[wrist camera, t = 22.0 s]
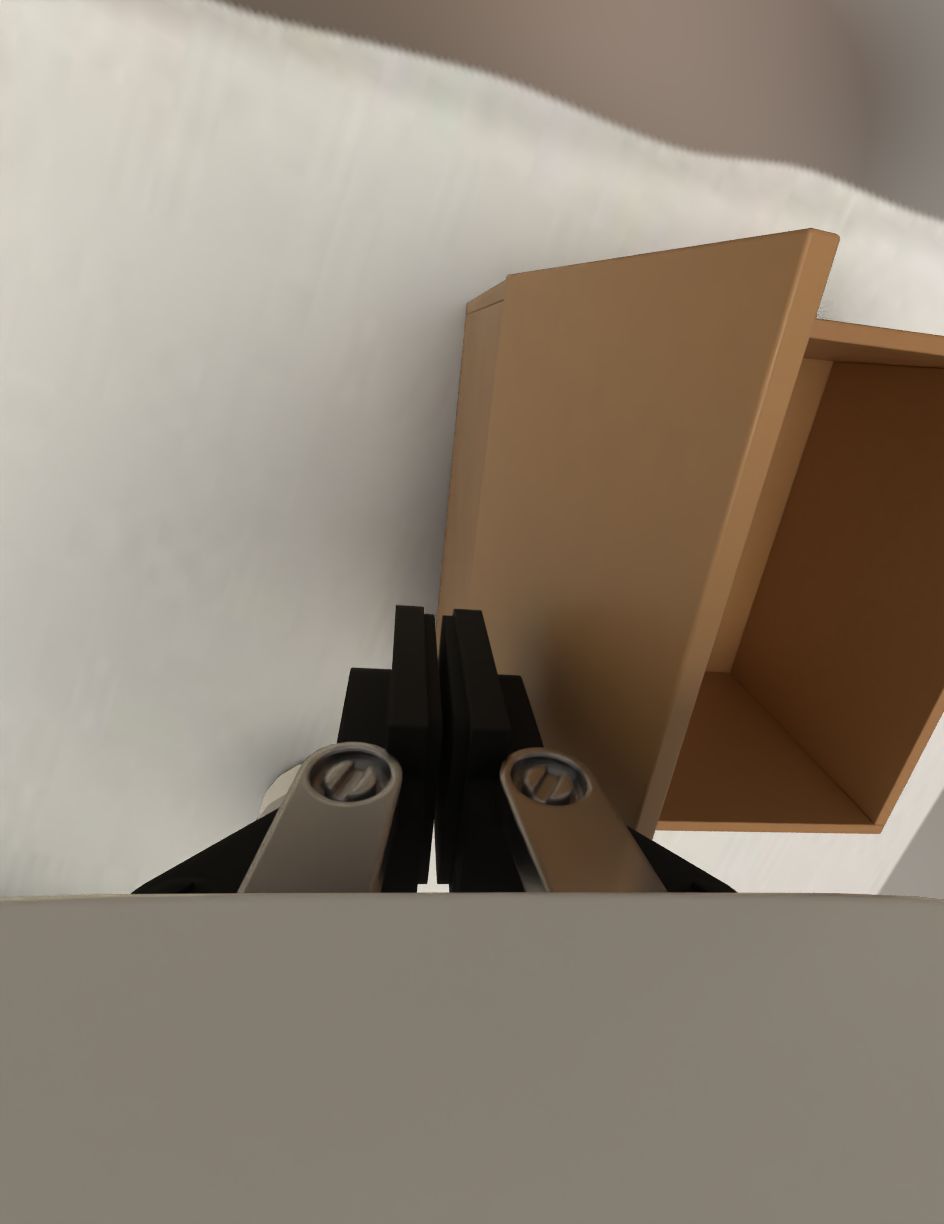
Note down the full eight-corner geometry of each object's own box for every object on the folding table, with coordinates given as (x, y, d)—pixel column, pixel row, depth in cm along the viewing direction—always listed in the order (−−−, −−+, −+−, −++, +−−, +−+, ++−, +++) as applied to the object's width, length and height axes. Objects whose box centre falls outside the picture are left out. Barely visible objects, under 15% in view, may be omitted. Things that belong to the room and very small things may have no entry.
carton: (432, 659, 28) (443, 827, 18) (467, 302, 21) (509, 276, 12) (731, 675, 29) (880, 834, 20) (839, 351, 23) (1126, 361, 14)
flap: (452, 842, 18) (438, 844, 17) (524, 277, 12) (505, 274, 11) (564, 1124, 11) (546, 1131, 11) (845, 234, 5) (811, 226, 5)
